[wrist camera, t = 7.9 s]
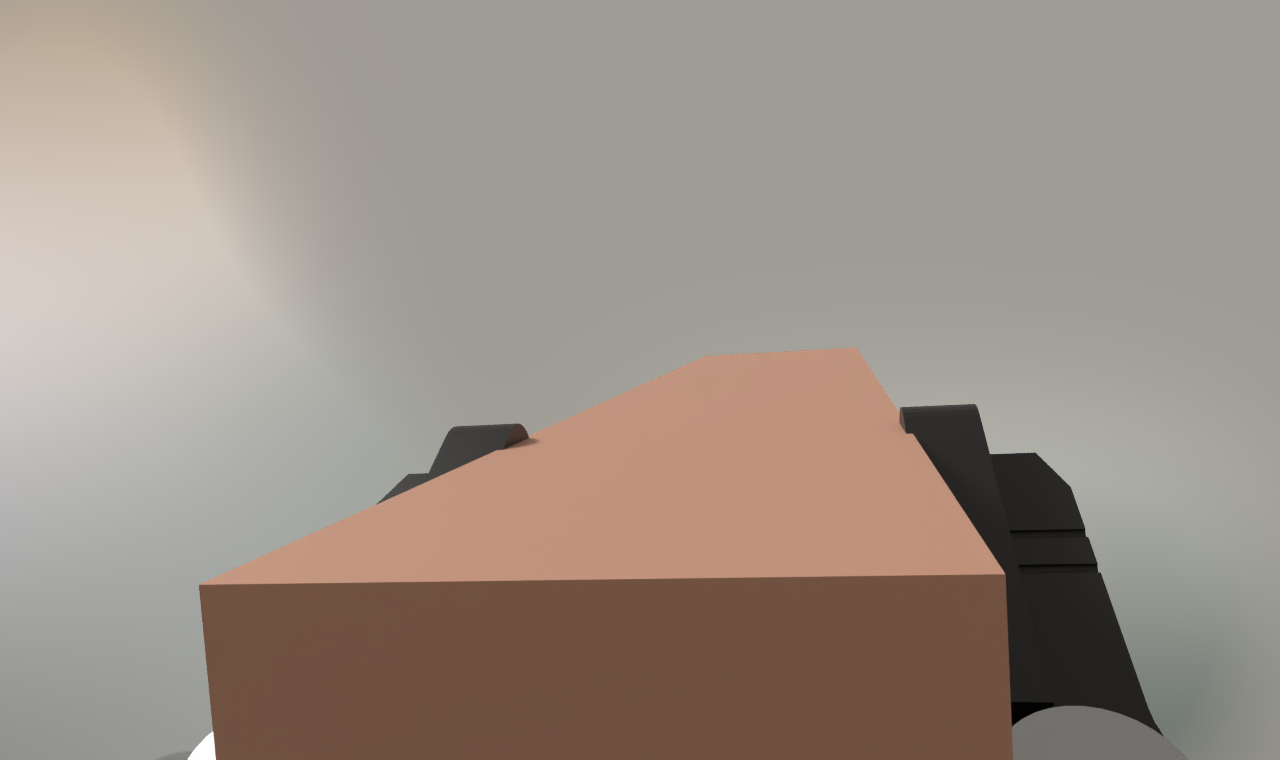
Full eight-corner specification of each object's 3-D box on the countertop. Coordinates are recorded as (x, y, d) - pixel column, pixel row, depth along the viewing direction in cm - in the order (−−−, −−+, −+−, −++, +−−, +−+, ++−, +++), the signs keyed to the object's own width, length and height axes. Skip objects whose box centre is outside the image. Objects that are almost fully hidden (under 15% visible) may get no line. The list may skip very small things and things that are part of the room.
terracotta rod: (268, 1299, 5) (198, 583, 5) (714, 501, 27) (705, 356, 27) (1038, 1406, 5) (1004, 573, 4) (863, 496, 26) (856, 347, 26)
